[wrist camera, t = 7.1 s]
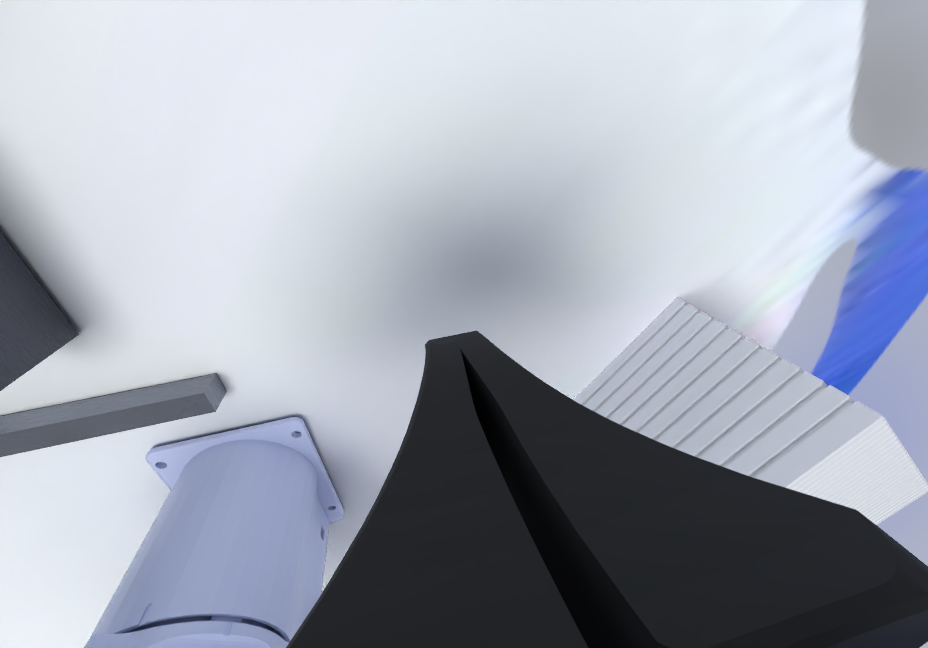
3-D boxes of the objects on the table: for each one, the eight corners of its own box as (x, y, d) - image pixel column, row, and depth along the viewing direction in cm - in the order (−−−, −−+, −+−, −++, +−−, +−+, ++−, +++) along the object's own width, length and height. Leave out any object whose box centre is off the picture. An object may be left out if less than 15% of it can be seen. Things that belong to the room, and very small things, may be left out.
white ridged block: (481, 593, 36) (518, 756, 26) (390, 578, 31) (396, 771, 22) (743, 365, 27) (932, 489, 18) (674, 295, 22) (884, 416, 13)
